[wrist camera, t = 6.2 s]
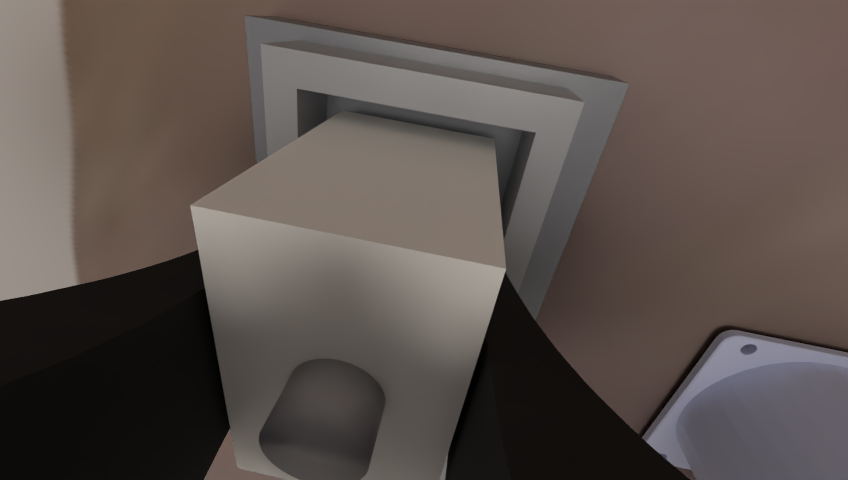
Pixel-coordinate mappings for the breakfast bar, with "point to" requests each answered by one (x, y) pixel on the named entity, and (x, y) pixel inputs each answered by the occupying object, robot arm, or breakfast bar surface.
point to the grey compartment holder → (448, 119)
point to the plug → (352, 296)
